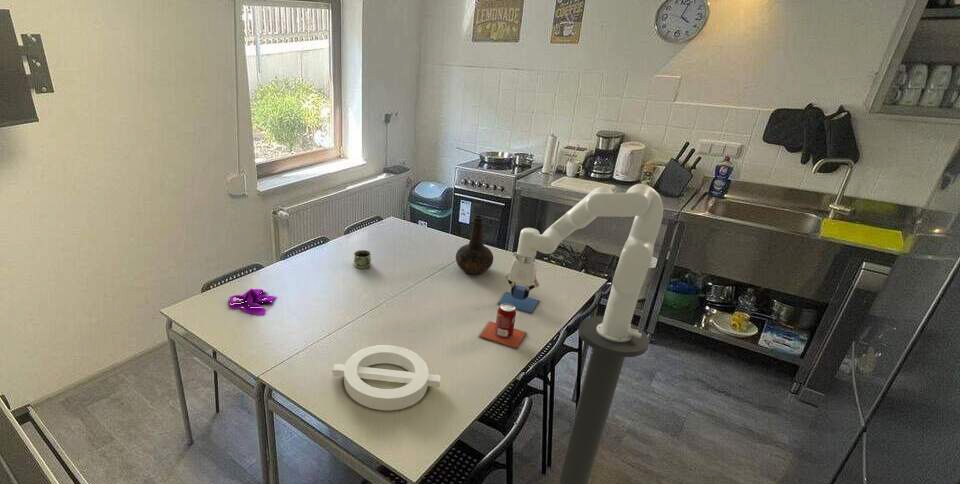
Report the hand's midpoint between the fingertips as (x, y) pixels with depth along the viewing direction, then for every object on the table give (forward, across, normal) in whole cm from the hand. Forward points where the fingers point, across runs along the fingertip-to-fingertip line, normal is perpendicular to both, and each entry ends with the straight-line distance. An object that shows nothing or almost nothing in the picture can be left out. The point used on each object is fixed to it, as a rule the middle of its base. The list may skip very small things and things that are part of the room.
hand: (519, 295), depth 210 cm
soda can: (+3, +2, -28) cm, 28 cm away
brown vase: (+4, -28, +20) cm, 34 cm away
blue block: (+1, 0, 0) cm, 1 cm away
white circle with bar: (+4, -23, -76) cm, 79 cm away
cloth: (+4, -97, -61) cm, 115 cm away
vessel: (+4, -77, -4) cm, 77 cm away
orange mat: (+3, +2, -28) cm, 28 cm away
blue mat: (+3, 0, 0) cm, 3 cm away
